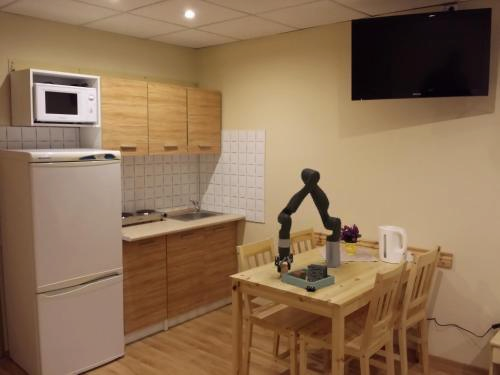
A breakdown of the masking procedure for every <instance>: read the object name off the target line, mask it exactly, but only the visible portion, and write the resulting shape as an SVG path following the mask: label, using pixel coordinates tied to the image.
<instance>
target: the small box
mask: <svg viewBox="0 0 500 375" xmlns="http://www.w3.org/2000/svg"><path fill="white" fill-rule="evenodd" d="M307 269H308V276H307V280H308V279H316V281H318V280H322V279H325V278H327V274H328V266H326V265H321V264H314V263H311V264H309V265H307Z"/></svg>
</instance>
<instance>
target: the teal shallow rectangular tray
mask: <svg viewBox="0 0 500 375" xmlns="http://www.w3.org/2000/svg"><path fill="white" fill-rule="evenodd" d="M296 270H300V271H304V272H306V277H308V268H306V267H302V268H299V269H295V270H292V271H291V270H290V271H288V273H284V274H282V277H281V282H283V283H285V284H289V285H292V286H295V287H299V288H302V289H304V290H305V289H306V287H307V286H310V287H312V288H313V287H315V289H316V290H319V289H322V288H327V287H329V286H331V285H334V284H335V278H336V277H335V275H332V274H329V273H327V278H325V279H322V280H318V281H315V282H309V281H308V280H307V279H306V280H302V279H299V278H296V277H292V272H293V271H296ZM306 290H307V289H306ZM316 290H315V291H316Z"/></svg>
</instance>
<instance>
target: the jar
mask: <svg viewBox="0 0 500 375" xmlns="http://www.w3.org/2000/svg"><path fill="white" fill-rule="evenodd" d="M288 272H289V270H288V265H287V264H286V263H283V264H282V265H281V273H279V277H280V278H282V274H284V273H288Z"/></svg>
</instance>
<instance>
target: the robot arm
mask: <svg viewBox="0 0 500 375" xmlns="http://www.w3.org/2000/svg"><path fill="white" fill-rule="evenodd" d="M300 178H301V180H302V183H303V184H304V186H303V187H302V188H300V190H299V191H297V192H296V193H295V194H293V195H292V196H291V198H290V199H289V201H288V202H287V204H286V205H285V207H284V208H283V209H281V211H280V212H279V213H278V216H277V222H278V223H279V225H280V229H278V230H279V231H278V243H277V245H278V246H277V247H278V248H277V253H278V255H275V256H274V266H275V267H276V269H277V270H276V271H277V273H279V274H280V273H281V265H282V264H284V263H287V265H288V271H291V265H292V264H293V263H294V253H291V229H292V226H293V224H292V223H293V219H292V215H293V214H295V213H296V212H297V211H298V209H299V208H300V206H301V205H302V203H303V202H304V200H305V198H307V197H308V195H309V194H310V197H311V199H312V202H313V203H314V206H315V207H316V209H317V211H318V214H319V216H320V220H321V222H322V225H323V227H324V229H325V230H326V231H331V234H330V235H326V237H325V266H328V267H329V268H338V267H340V266H341V244H340V243H341V236H342V220H341V218H340V217H337V216H336V217H335V216H330V214H329V212H328V210H329V207H330V201H329V198H328V196H327V194H326V192H325V191H324V190H323V189H322V188H321V187H320V185H318V183H319V182H320V180H321V173H320V172H319V171H318V170H315V169H312V168H308V167H305V168H303V169H302V170H301V173H300ZM328 267H327V268H328Z"/></svg>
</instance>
